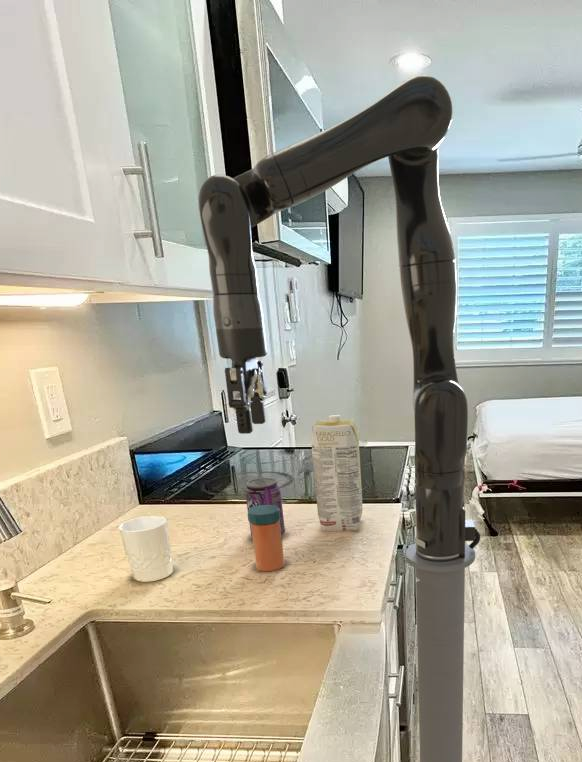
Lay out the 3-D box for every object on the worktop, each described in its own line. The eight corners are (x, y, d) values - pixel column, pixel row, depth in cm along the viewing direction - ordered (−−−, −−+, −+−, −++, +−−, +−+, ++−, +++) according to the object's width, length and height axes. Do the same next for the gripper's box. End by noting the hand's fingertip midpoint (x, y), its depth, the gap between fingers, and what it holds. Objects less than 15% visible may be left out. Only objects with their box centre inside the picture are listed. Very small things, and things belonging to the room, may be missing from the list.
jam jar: (287, 559, 109) (281, 507, 105) (281, 571, 104) (274, 516, 100) (260, 560, 109) (253, 507, 105) (253, 571, 105) (245, 517, 101)
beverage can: (247, 534, 122) (240, 480, 118) (280, 528, 125) (273, 475, 121) (256, 545, 116) (248, 488, 112) (289, 538, 119) (283, 483, 115)
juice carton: (364, 519, 128) (358, 412, 119) (361, 532, 121) (354, 419, 112) (323, 520, 129) (313, 413, 120) (317, 533, 122) (307, 420, 113)
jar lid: (283, 513, 106) (282, 504, 105) (276, 524, 101) (275, 514, 100) (253, 514, 106) (252, 504, 105) (245, 525, 101) (243, 515, 100)
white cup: (183, 573, 105) (174, 522, 101) (140, 587, 100) (128, 534, 96) (165, 561, 110) (155, 512, 106) (123, 574, 105) (111, 524, 101)
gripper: (251, 326, 83) (264, 436, 90) (273, 324, 97) (283, 420, 103) (201, 327, 84) (217, 437, 90) (230, 325, 97) (242, 421, 103)
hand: (252, 428), depth 96 cm, fingers open, 8 cm apart
